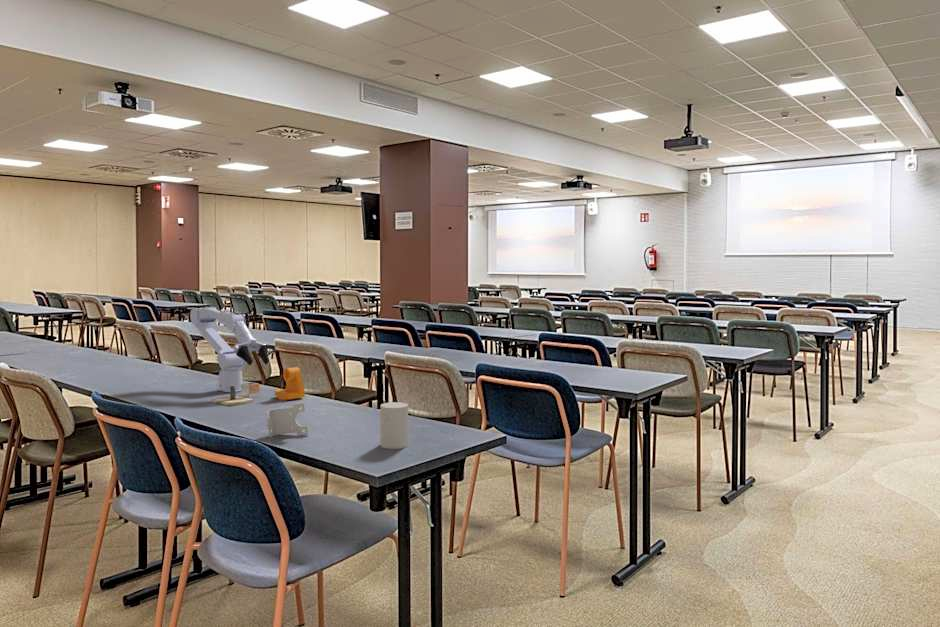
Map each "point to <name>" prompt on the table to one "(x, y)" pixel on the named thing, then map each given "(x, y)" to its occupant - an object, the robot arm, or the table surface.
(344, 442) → the table surface
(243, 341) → the robot arm
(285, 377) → the bracket
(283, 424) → the bracket
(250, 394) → the nut
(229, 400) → the post block
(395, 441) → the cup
